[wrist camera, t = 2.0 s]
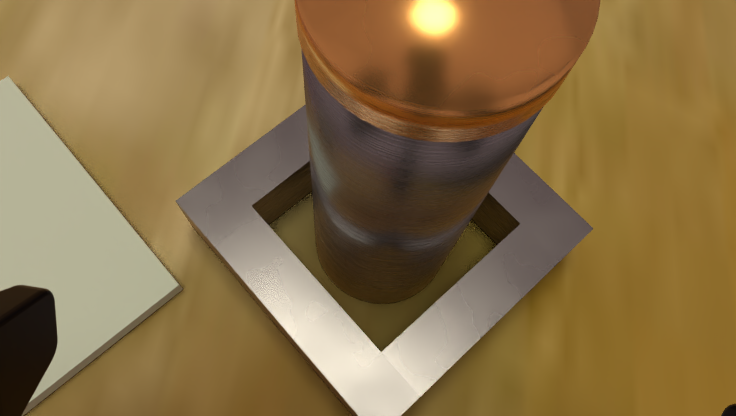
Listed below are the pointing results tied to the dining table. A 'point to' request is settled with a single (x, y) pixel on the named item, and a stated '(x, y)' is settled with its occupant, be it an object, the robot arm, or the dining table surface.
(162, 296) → the rest pad
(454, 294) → the block
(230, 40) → the dining table surface
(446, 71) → the steel peg
